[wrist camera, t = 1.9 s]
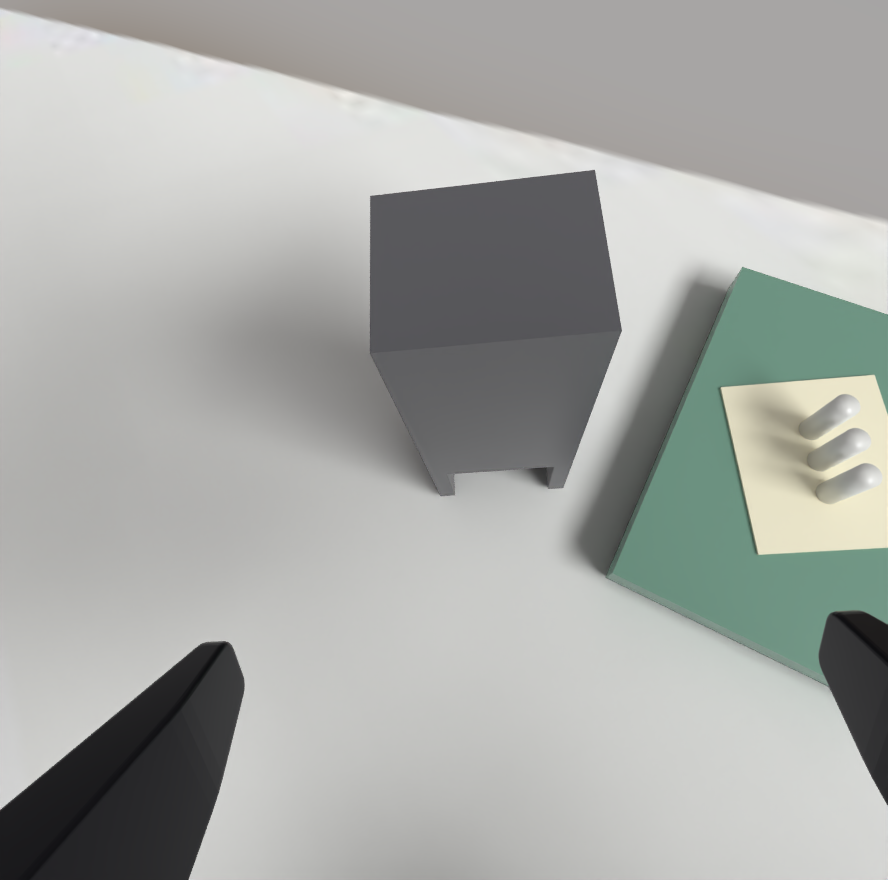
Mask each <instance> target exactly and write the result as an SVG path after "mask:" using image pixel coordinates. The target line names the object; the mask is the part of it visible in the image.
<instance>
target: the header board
mask: <svg viewBox="0 0 888 880" xmlns="http://www.w3.org/2000/svg"><path fill="white" fill-rule="evenodd" d="M606 578H608V579H610V580H612V581H614V582H616V583H618V584H620V585H622V586H624V587H626V588H628V589H631V590H633V591H635V592H637V593H639V594H641V595H643V596H645V597H647V598H649V599H651V600H653V601H655V602H657V603H659V604H661V605H663V606H665V607H667V608H669V609H671V610H673V611H675V612H678V613H680V614H682V615H684V616H686V617H688V618H690V619H692V620H694V621H696V622H698V623H700V624H702V625H704V626H706V627H708V628H710V629H712V630H714V631H716V632H718V633H720V634H722V635H725V636H727V637H729V638H731V639H733V640H735V641H737V642H739V643H741V644H743V645H745V646H747V647H749V648H751V649H753V650H755V651H757V652H759V653H761V654H763V655H765V656H767V657H770V658H772V659H774V660H776V661H778V662H780V663H782V664H784V665H786V666H788V667H790V668H792V669H794V670H796V671H798V672H800V673H802V674H804V675H806V676H808V677H810V678H812V679H814V680H817V681H819V682H821V683H823V684H825V685H827V686H829V685H828V683H827V681H826V679H825V677H824V675H823V672H822V670H821V667H820V664H819V658H818V653H819V648H820V643H821V639H822V635H823V631H824V627H825V623H826V619H827V616H828V615H829V614H830V613H831V612H834V611H849V610H860V611H864V612H866V613H869V614H870V615H872V616H874V617H876V618H878V619H879V620H881V621H883V622H885V623H886V624H888V315H887V314H884V313H881V312H878V311H875V310H872V309H869V308H866V307H863V306H860V305H857V304H854V303H851V302H848V301H845V300H842V299H839V298H836V297H832V296H829V295H826V294H823V293H820V292H817V291H814V290H811V289H808V288H805V287H802V286H799V285H796V284H793V283H790V282H787V281H784V280H781V279H778V278H774V277H771V276H768V275H765V274H762V273H759V272H756V271H753V270H750V269H747V268H744V267H742V269H741V270H740V272H739V273H738V275H737V276H736V278H735V280H734V281H733V283H732V284H731V286H730V287H729V290H728V292H727V294H726V297H725V299H724V301H723V304H722V306H721V308H720V311H719V313H718V315H717V318H716V320H715V322H714V325H713V327H712V329H711V332H710V334H709V336H708V339H707V341H706V343H705V346H704V348H703V350H702V353H701V355H700V357H699V360H698V362H697V364H696V367H695V369H694V371H693V374H692V376H691V378H690V381H689V383H688V385H687V388H686V390H685V393H684V395H683V397H682V400H681V402H680V404H679V407H678V409H677V411H676V414H675V416H674V418H673V421H672V423H671V425H670V428H669V430H668V432H667V435H666V437H665V439H664V442H663V444H662V446H661V449H660V451H659V453H658V456H657V458H656V460H655V463H654V465H653V467H652V470H651V472H650V474H649V477H648V479H647V481H646V484H645V486H644V489H643V491H642V493H641V496H640V498H639V500H638V503H637V505H636V507H635V510H634V512H633V514H632V517H631V519H630V521H629V524H628V526H627V528H626V531H625V533H624V535H623V538H622V540H621V542H620V545H619V547H618V549H617V552H616V554H615V556H614V559H613V561H612V563H611V566H610V568H609V570H608V573H607V575H606Z"/></svg>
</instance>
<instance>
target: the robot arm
mask: <svg viewBox="0 0 888 880" xmlns="http://www.w3.org/2000/svg"><path fill="white" fill-rule="evenodd" d="M818 658H819V664H820V667H821V670H822V672H823V675H824V677H825V679H826V681H827V683H828V685H829V687H830V690H831V692H832V694H833V696H834V698H835V700H836V703H837V705H838V707H839V709H840V711H841V713H842V715H843V718H844V720H845V722H846V724H847V726H848V728H849V731H850V733H851V735H852V737H853V739H854V741H855V743H856V746H857V748H858V750H859V752H860V754H861V756H862V759H863V761H864V763H865V765H866V767H867V769H868V771H869V773H870V775H871V777H872V778H873V780H874V782H875V784H876V786H877V787H878V789H879V791H880V793H881V795H882V796H883V798H884V800H885V802H886V803H887V805H888V624H886V623H885V622H883V621H881V620H879V619H878V618H876V617H874V616H872V615H870V614H869V613H866V612H864V611H860V610H849V611H834V612H831V613H830V614H829V615H828V616H827V619H826V623H825V627H824V631H823V635H822V639H821V643H820V648H819V653H818ZM244 687H245V686H244V677H243V674H242V671H241V668H240V666H239V663H238V660H237V657H236V655H235V652H234V649H233V647H232V645H231V644H230V643H229V642H226V641H218V642H205V643H202V644H200V645H199V646H198V647H196V648H195V649H194V650H193V651H192V652H190V653H189V654H188V655H187V656H186V657H184V658H183V659H182V660H181V661H179V662H178V663H177V664H176V665H175V666H173V667H172V668H171V669H170V670H169V671H167V672H166V673H165V674H164V675H163V676H161V677H160V678H159V679H158V680H157V681H155V682H154V683H153V684H152V685H150V686H149V687H148V688H147V689H146V690H144V691H143V692H142V693H141V694H140V695H138V696H137V697H136V698H135V699H134V700H132V701H131V702H130V703H129V704H128V705H126V706H125V707H124V708H123V709H121V710H120V711H119V712H118V713H117V714H115V715H114V716H113V717H112V718H111V719H109V720H108V721H107V722H106V723H105V724H103V725H102V726H101V727H100V728H99V729H97V730H96V731H95V732H94V733H92V734H91V735H90V736H89V737H88V738H86V739H85V740H84V741H83V742H82V743H80V744H79V745H78V746H77V747H76V748H74V749H73V750H72V751H71V752H70V753H68V754H67V755H66V756H65V757H63V758H62V759H61V760H60V761H59V762H57V763H56V764H55V765H54V766H53V767H51V768H50V769H49V770H48V771H47V772H45V773H44V774H43V775H42V776H41V777H39V778H38V779H37V780H36V781H34V782H33V783H32V784H31V785H30V786H28V787H27V788H26V789H25V790H24V791H22V792H21V793H20V794H19V795H18V796H16V797H15V798H14V799H13V800H11V801H10V802H9V803H8V804H7V805H5V806H4V807H3V808H2V809H1V810H0V880H189V877H190V874H191V871H192V868H193V865H194V863H195V860H196V857H197V854H198V851H199V848H200V846H201V843H202V840H203V837H204V834H205V831H206V829H207V826H208V823H209V820H210V817H211V814H212V812H213V809H214V806H215V803H216V800H217V796H218V793H219V790H220V786H221V783H222V779H223V775H224V771H225V767H226V763H227V759H228V755H229V751H230V747H231V743H232V739H233V735H234V731H235V727H236V723H237V719H238V715H239V711H240V707H241V702H242V698H243V694H244Z"/></svg>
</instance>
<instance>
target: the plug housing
mask: <svg viewBox="0 0 888 880" xmlns="http://www.w3.org/2000/svg"><path fill="white" fill-rule="evenodd" d="M621 331H622V329H621V323H620V317H619V311H618V305H617V299H616V293H615V287H614V281H613V275H612V269H611V263H610V257H609V251H608V246H607V240H606V234H605V228H604V222H603V216H602V210H601V204H600V198H599V192H598V186H597V180H596V174H595V170H591V171H582V172H574V173H565V174H556V175H548V176H539V177H530V178H522V179H513V180H505V181H496V182H487V183H479V184H470V185H462V186H453V187H444V188H436V189H427V190H418V191H410V192H401V193H393V194H384V195H375V196H370V354H371V356H372V358H373V360H374V362H375V364H376V366H377V368H378V370H379V372H380V374H381V376H382V379H383V381H384V383H385V385H386V387H387V389H388V391H389V393H390V395H391V397H392V399H393V401H394V403H395V405H396V407H397V409H398V411H399V413H400V415H401V417H402V419H403V421H404V423H405V425H406V427H407V429H408V431H409V433H410V435H411V437H412V439H413V441H414V443H415V445H416V447H417V449H418V451H419V454H420V456H421V458H422V460H423V462H424V464H425V466H426V468H427V470H428V472H429V474H430V476H431V478H432V480H433V482H434V484H435V486H436V488H437V490H438V492H439V494H440V496H449V495H455V486H454V474H458V473H472V472H486V471H500V470H515V469H529V468H543V467H546V473H547V482H548V489H554V488H563V487H564V484H565V482H566V479H567V476H568V474H569V471H570V468H571V466H572V463H573V460H574V457H575V455H576V452H577V449H578V447H579V444H580V441H581V439H582V436H583V433H584V431H585V428H586V425H587V423H588V420H589V417H590V414H591V412H592V409H593V406H594V404H595V401H596V398H597V396H598V393H599V390H600V388H601V385H602V382H603V380H604V377H605V374H606V372H607V369H608V366H609V363H610V361H611V358H612V355H613V353H614V350H615V347H616V345H617V342H618V339H619V337H620V334H621Z"/></svg>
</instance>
